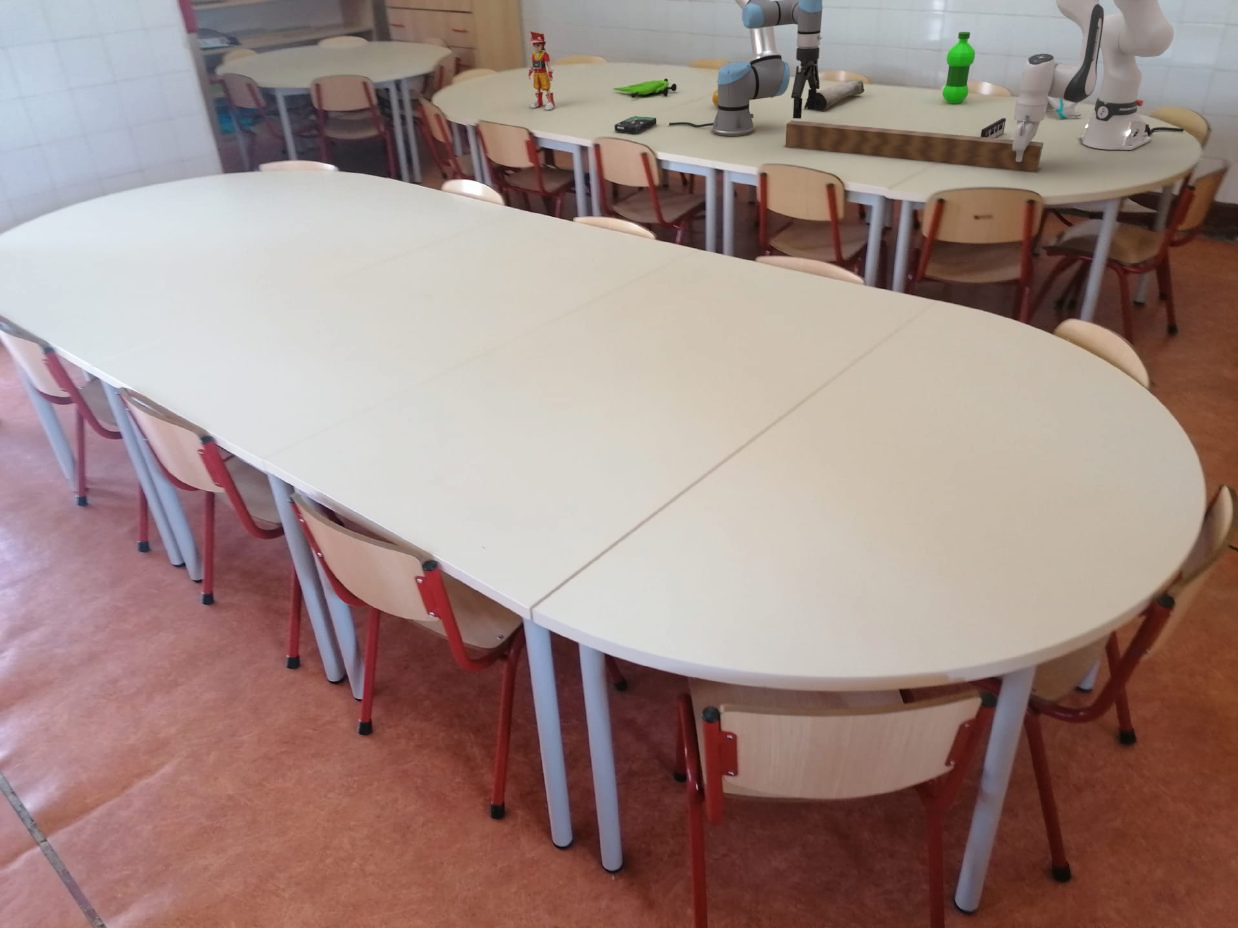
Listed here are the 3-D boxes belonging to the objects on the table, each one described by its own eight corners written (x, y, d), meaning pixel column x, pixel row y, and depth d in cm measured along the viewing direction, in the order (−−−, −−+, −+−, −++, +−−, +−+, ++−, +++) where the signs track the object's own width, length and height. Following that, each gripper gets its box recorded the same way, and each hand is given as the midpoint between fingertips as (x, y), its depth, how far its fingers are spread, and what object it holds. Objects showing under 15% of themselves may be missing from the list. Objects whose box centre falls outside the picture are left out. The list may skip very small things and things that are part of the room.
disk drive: (637, 135, 339) (656, 124, 349) (637, 127, 338) (656, 117, 348) (614, 132, 344) (634, 122, 354) (613, 125, 343) (633, 115, 353)
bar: (785, 146, 317) (786, 123, 312) (790, 143, 320) (791, 120, 316) (1035, 172, 280) (1040, 146, 275) (1038, 168, 283) (1043, 142, 279)
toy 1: (525, 109, 381) (517, 32, 364) (534, 104, 388) (527, 28, 371) (550, 110, 377) (543, 32, 360) (559, 105, 384) (553, 28, 367)
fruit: (706, 100, 364) (717, 82, 360) (712, 103, 371) (722, 85, 368) (723, 111, 362) (734, 93, 359) (728, 114, 370) (739, 96, 367)
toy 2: (686, 85, 398) (631, 84, 414) (685, 72, 395) (629, 72, 411) (651, 104, 381) (596, 103, 397) (650, 92, 378) (594, 91, 394)
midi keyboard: (982, 145, 305) (985, 130, 303) (979, 144, 306) (981, 129, 303) (1003, 133, 316) (1006, 118, 313) (999, 132, 317) (1002, 118, 314)
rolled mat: (839, 85, 375) (856, 69, 367) (851, 103, 375) (868, 87, 367) (800, 103, 358) (817, 87, 350) (813, 122, 358) (830, 107, 350)
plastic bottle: (973, 101, 354) (984, 32, 339) (955, 106, 349) (966, 36, 335) (952, 97, 361) (962, 29, 346) (934, 102, 356) (944, 33, 342)
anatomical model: (1037, 86, 333) (1064, 79, 332) (1036, 115, 339) (1062, 107, 338) (1056, 96, 321) (1084, 88, 320) (1055, 125, 327) (1082, 118, 326)
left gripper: (805, 54, 287) (801, 123, 299) (831, 41, 305) (827, 106, 316) (783, 53, 291) (780, 121, 302) (810, 40, 308) (807, 105, 320)
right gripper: (1034, 122, 266) (1024, 169, 274) (1046, 105, 280) (1037, 151, 288) (1012, 120, 269) (1003, 166, 276) (1025, 104, 283) (1016, 149, 291)
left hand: (804, 114), depth 310 cm, fingers open, 13 cm apart
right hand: (1020, 158), depth 282 cm, fingers closed on bar, 5 cm apart
